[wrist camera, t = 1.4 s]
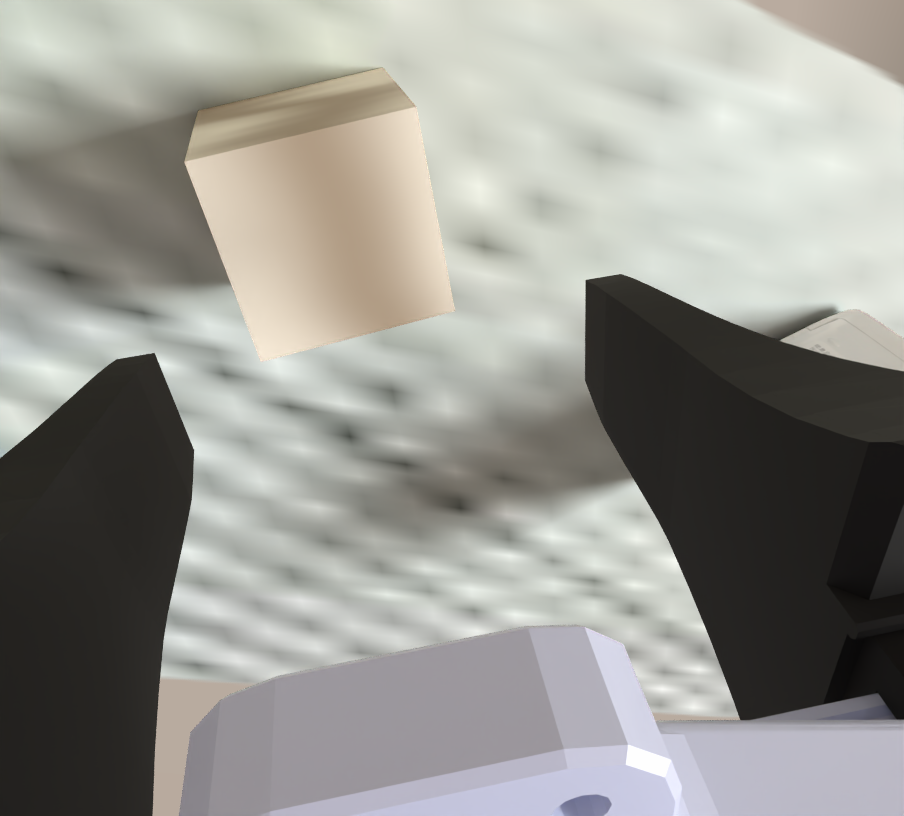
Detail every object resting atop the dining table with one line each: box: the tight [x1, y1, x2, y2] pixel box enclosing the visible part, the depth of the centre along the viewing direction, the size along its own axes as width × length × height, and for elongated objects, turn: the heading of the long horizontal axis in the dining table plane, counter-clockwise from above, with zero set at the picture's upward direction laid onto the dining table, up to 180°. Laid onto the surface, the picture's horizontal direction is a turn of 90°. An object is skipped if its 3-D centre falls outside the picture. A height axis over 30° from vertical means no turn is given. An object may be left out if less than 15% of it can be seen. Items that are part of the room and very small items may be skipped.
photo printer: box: [780, 309, 904, 371], centre depth 24 cm, size 10×4×12 cm, turn 116°
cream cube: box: [184, 68, 455, 362], centre depth 19 cm, size 5×5×5 cm
